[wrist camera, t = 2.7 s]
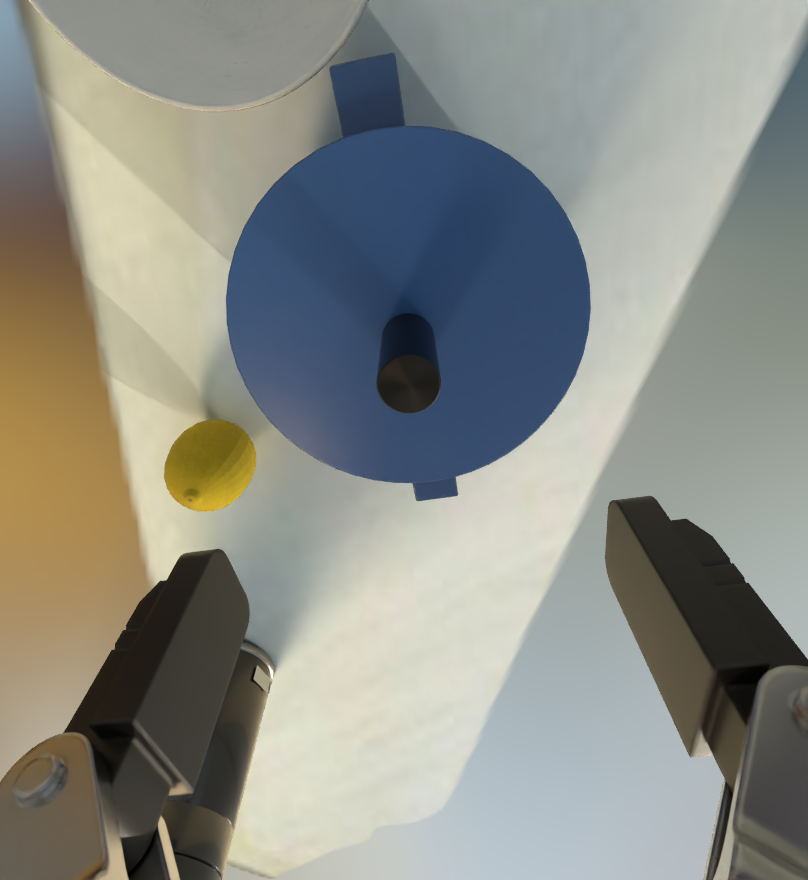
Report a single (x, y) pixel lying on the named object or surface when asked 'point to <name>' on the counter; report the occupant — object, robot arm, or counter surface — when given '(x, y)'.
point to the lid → (408, 304)
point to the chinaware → (206, 45)
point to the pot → (371, 107)
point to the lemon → (210, 465)
